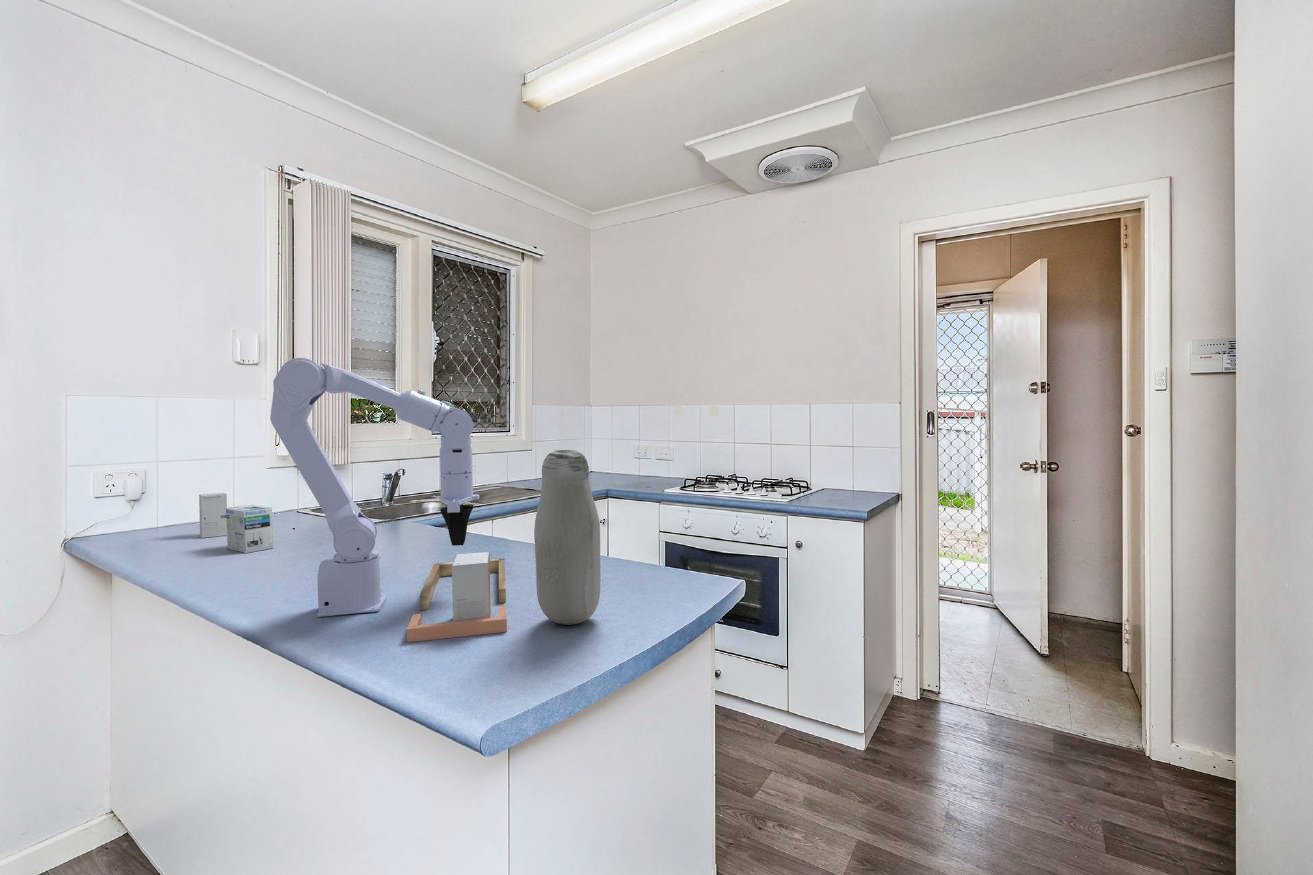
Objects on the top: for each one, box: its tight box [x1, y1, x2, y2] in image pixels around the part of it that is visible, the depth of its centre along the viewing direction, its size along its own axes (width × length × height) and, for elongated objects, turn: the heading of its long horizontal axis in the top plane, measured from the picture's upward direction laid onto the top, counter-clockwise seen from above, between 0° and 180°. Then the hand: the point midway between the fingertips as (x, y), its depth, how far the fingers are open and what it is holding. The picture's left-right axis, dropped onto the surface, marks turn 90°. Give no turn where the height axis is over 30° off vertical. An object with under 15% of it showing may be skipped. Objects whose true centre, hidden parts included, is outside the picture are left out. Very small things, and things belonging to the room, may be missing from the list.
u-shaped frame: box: [419, 558, 507, 611], centre depth 113 cm, size 14×23×2 cm, turn 15°
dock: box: [406, 605, 508, 643], centre depth 91 cm, size 14×7×2 cm, turn 105°
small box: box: [451, 551, 492, 622], centre depth 94 cm, size 8×6×10 cm
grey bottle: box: [533, 449, 601, 626], centre depth 93 cm, size 10×10×28 cm
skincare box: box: [198, 492, 228, 539], centre depth 165 cm, size 6×4×12 cm
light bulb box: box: [226, 504, 275, 554], centre depth 149 cm, size 11×7×11 cm, turn 58°
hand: (458, 544), depth 109 cm, fingers closed
